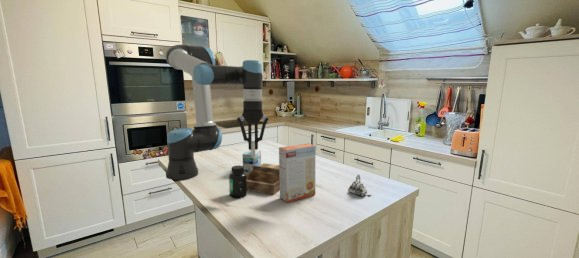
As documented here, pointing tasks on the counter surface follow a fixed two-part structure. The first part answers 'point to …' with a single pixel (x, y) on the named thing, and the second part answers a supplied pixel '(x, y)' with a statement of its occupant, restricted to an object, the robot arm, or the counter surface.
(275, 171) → the lid
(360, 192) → the grey lumpy piece
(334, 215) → the counter surface
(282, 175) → the cracker box
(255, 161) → the light bulb box
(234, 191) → the supplement bottle
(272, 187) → the brown wooden drawer
